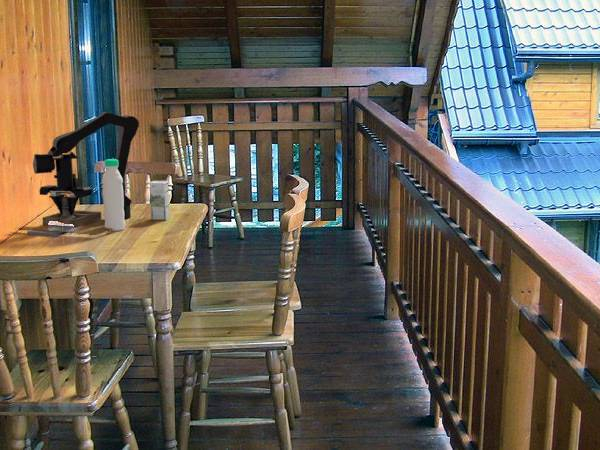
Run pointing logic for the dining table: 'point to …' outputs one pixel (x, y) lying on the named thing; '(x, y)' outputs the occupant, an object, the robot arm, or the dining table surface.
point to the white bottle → (113, 196)
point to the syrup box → (159, 200)
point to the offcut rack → (80, 219)
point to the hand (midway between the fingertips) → (67, 214)
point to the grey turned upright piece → (66, 209)
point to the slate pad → (45, 233)
